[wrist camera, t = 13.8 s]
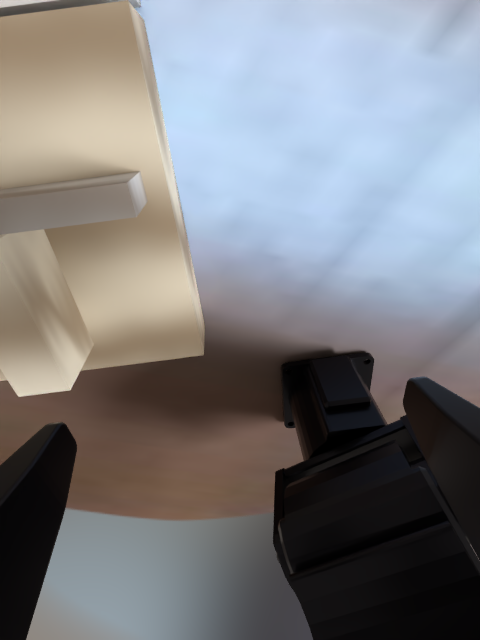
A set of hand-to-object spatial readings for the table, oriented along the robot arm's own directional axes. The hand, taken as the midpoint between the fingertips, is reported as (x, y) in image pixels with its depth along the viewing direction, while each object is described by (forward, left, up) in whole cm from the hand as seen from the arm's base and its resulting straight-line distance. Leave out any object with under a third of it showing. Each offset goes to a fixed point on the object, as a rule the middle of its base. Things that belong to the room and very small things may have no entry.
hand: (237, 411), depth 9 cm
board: (+2, +9, -12) cm, 15 cm away
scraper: (0, +9, -9) cm, 13 cm away
